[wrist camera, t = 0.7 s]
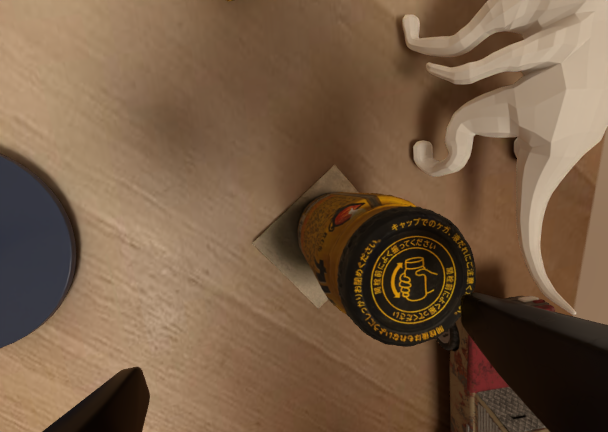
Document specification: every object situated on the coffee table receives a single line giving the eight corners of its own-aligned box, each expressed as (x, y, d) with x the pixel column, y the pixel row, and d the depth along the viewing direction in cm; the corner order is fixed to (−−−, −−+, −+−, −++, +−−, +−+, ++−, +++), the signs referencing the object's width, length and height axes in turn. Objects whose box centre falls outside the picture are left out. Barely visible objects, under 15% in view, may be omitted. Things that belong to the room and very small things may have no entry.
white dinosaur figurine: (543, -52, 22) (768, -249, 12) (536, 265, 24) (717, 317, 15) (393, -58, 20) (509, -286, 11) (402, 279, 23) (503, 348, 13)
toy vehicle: (505, 282, 24) (613, 324, 17) (505, 472, 26) (602, 589, 18) (428, 291, 23) (506, 340, 16) (434, 487, 25) (505, 615, 18)
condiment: (395, 233, 23) (534, 281, 11) (317, 307, 22) (373, 441, 10) (333, 164, 21) (414, 134, 10) (252, 242, 21) (231, 310, 9)
